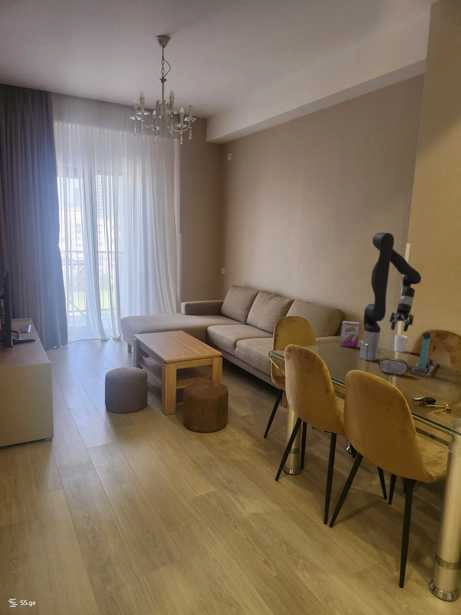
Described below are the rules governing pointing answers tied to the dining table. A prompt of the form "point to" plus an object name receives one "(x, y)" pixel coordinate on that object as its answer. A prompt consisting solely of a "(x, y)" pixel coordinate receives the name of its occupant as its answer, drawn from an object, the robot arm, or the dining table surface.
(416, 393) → the dining table surface
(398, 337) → the white cup
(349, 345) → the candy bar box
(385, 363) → the tin
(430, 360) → the press base
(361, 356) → the robot arm
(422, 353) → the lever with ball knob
